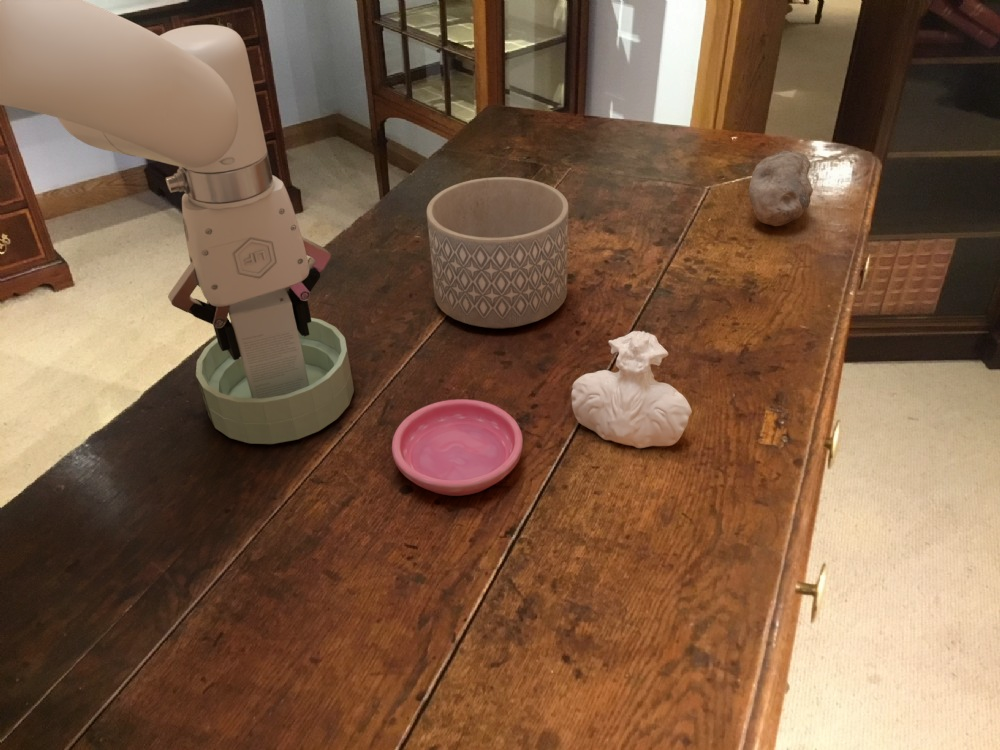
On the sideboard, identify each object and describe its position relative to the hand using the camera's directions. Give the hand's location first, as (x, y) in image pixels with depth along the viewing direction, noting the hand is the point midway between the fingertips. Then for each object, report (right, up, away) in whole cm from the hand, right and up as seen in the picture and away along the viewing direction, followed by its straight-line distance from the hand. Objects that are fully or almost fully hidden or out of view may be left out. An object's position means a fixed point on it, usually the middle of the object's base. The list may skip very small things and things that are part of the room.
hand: (267, 340), depth 86 cm
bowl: (0, -6, +5) cm, 8 cm away
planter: (+24, +6, +20) cm, 31 cm away
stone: (+63, +19, +35) cm, 75 cm away
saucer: (+20, -12, -4) cm, 23 cm away
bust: (+37, -9, 0) cm, 38 cm away
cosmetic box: (0, -6, +4) cm, 7 cm away
